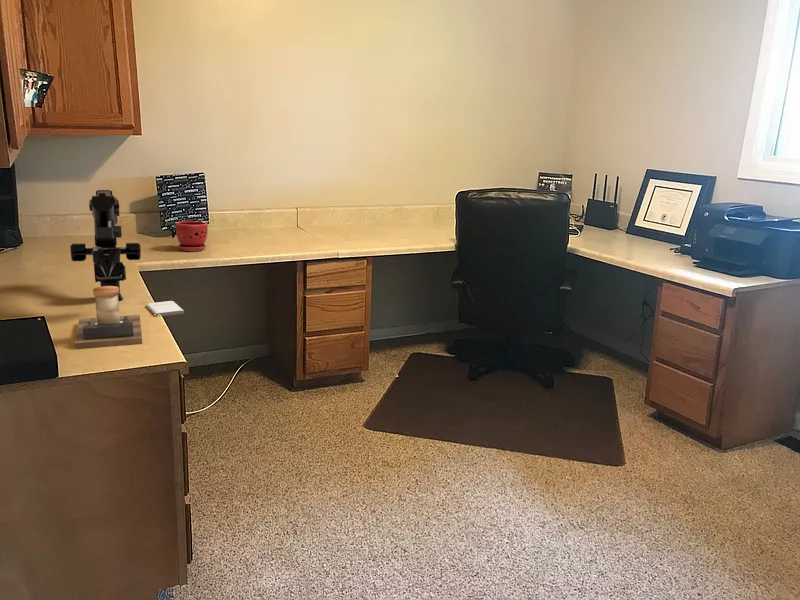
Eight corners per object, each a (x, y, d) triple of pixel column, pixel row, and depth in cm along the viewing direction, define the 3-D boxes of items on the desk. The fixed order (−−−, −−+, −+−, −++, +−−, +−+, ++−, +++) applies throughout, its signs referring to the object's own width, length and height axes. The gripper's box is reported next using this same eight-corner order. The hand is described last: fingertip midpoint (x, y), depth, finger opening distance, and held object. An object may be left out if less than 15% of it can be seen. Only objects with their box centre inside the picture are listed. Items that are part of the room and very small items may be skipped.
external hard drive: (156, 318, 204) (146, 308, 214) (184, 315, 208) (173, 305, 218) (156, 313, 203) (146, 303, 213) (184, 310, 207) (173, 300, 217)
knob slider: (95, 326, 187) (92, 286, 184) (123, 324, 189) (120, 285, 186) (94, 334, 180) (91, 292, 177) (123, 332, 183) (120, 291, 180)
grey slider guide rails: (86, 321, 191) (85, 311, 191) (132, 318, 196) (131, 308, 195) (83, 339, 177) (82, 328, 176) (133, 336, 181) (132, 325, 180)
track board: (79, 323, 194) (79, 318, 194) (140, 319, 200) (139, 314, 199) (75, 348, 174) (74, 343, 174) (142, 343, 180) (142, 337, 180)
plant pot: (207, 252, 296) (206, 224, 293) (175, 252, 293) (174, 224, 290) (209, 246, 308) (208, 220, 305) (178, 246, 306) (177, 220, 302)
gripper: (68, 215, 193) (69, 262, 187) (139, 215, 201) (142, 260, 194) (70, 237, 202) (72, 283, 196) (138, 237, 210) (142, 280, 203)
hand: (107, 276), depth 197 cm, fingers closed
